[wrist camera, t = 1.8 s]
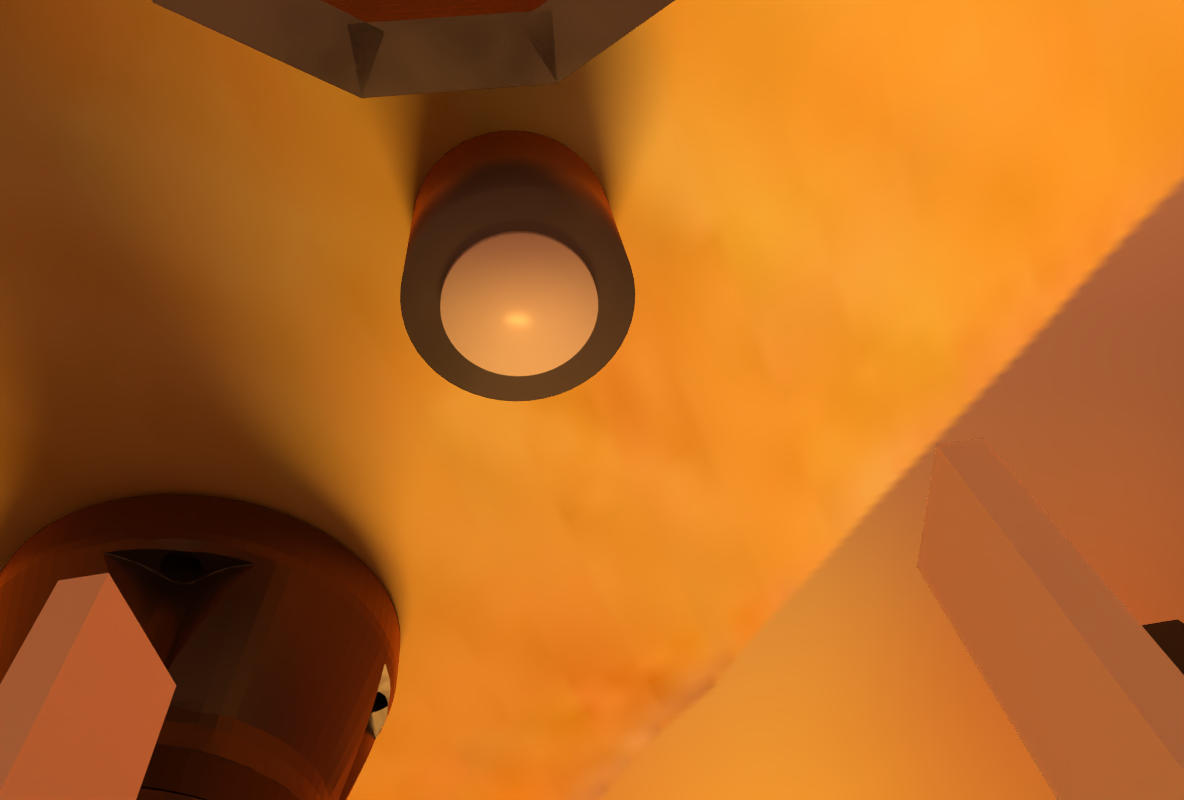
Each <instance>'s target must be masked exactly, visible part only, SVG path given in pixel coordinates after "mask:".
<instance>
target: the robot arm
mask: <svg viewBox="0 0 1184 800" xmlns="http://www.w3.org/2000/svg"><path fill="white" fill-rule="evenodd" d="M917 568H918V570H919V571H920V573H921V575H922V576H923V578H924V580H925V581H926V583H927V585H928V586H929V588H930V590H931V591H932V593H933V594H934V596H935V598H936V600H937V601H938V603H939V604H940V606H941V608H942V609H943V611H944V613H945V614H946V616H947V618H948V619H949V621H950V623H951V624H952V626H953V628H954V629H955V631H956V633H957V634H958V636H959V638H960V639H961V641H962V642H963V644H964V646H965V647H966V649H967V651H968V652H969V654H970V656H971V657H972V659H973V661H974V662H975V664H976V666H977V667H978V669H979V671H980V672H981V674H982V676H983V677H984V679H985V681H986V682H987V684H988V686H989V687H990V689H991V690H992V692H993V694H994V696H995V697H996V699H997V700H998V702H999V704H1000V705H1001V707H1002V709H1003V710H1004V712H1005V714H1006V715H1007V717H1008V719H1009V720H1010V722H1011V724H1012V725H1013V727H1014V729H1015V730H1016V732H1017V734H1018V735H1019V737H1020V738H1021V740H1022V742H1023V743H1024V745H1025V747H1026V748H1027V750H1028V752H1029V753H1030V755H1031V757H1032V758H1033V760H1034V761H1035V763H1036V765H1037V766H1038V768H1039V770H1040V772H1041V773H1042V775H1043V777H1044V778H1045V780H1046V782H1047V783H1048V785H1049V786H1050V788H1051V790H1052V791H1053V793H1054V795H1055V796H1056V798H1057V800H1184V623H1182V622H1180V621H1179V620H1172V621H1166V622H1160V623H1154V624H1148V625H1141V624H1140V623H1139V622H1138V621H1137V619H1136V618H1135V617H1134V616H1133V615H1132V613H1131V612H1130V611H1129V610H1128V609H1127V608H1126V606H1125V605H1124V604H1123V603H1122V602H1121V600H1120V599H1119V598H1118V597H1117V596H1116V595H1115V593H1114V592H1113V591H1112V590H1111V589H1110V587H1109V586H1108V585H1107V584H1106V583H1105V582H1104V580H1103V579H1102V578H1101V577H1100V576H1099V574H1098V573H1097V572H1096V571H1095V570H1094V569H1093V567H1092V566H1091V565H1090V564H1089V563H1088V562H1087V560H1086V559H1085V558H1084V557H1083V555H1082V554H1081V553H1080V552H1079V551H1078V550H1077V548H1076V547H1075V546H1074V545H1073V544H1072V542H1071V541H1070V540H1069V539H1068V538H1067V537H1066V535H1065V534H1064V533H1063V532H1062V531H1061V529H1060V528H1059V527H1058V526H1057V525H1056V524H1055V522H1054V521H1053V520H1052V519H1051V518H1050V516H1049V515H1048V514H1047V513H1046V512H1045V511H1044V509H1043V508H1042V507H1041V506H1040V505H1039V503H1038V502H1037V501H1036V500H1035V499H1034V497H1033V496H1032V495H1031V494H1030V493H1029V492H1028V490H1027V489H1026V488H1025V487H1024V486H1023V484H1022V483H1021V482H1020V481H1019V480H1018V478H1017V477H1016V476H1015V475H1014V474H1013V473H1012V471H1011V470H1010V469H1009V468H1008V467H1007V466H1006V464H1005V463H1004V462H1003V461H1002V460H1001V458H1000V457H999V456H998V455H997V454H996V453H995V451H994V450H993V449H992V448H991V447H990V446H989V444H988V443H987V442H986V441H985V440H984V438H976V439H970V440H964V441H957V442H951V443H944V444H938V445H936V450H935V457H934V463H933V469H932V475H931V482H930V488H929V495H928V500H927V506H926V513H925V519H924V525H923V531H922V538H921V544H920V550H919V556H918V562H917ZM399 652H400V629H399V624H398V619H397V615H396V612H395V609H394V607H393V604H392V602H391V600H390V598H389V596H388V594H387V593H386V591H385V589H384V588H383V586H382V585H381V583H380V582H379V580H378V579H377V578H376V577H375V575H374V574H373V573H372V572H371V571H370V570H369V569H368V567H367V566H366V565H365V564H364V563H363V562H362V561H361V560H359V559H358V558H357V557H356V556H355V555H354V554H353V553H351V552H350V551H349V550H348V549H346V548H345V547H344V546H342V545H341V544H339V543H338V542H337V541H335V540H334V539H332V538H331V537H329V536H327V535H325V534H324V533H322V532H320V531H319V530H317V529H315V528H313V527H311V526H309V525H307V524H305V523H303V522H300V521H298V520H296V519H294V518H291V517H289V516H286V515H283V514H281V513H278V512H275V511H272V510H269V509H266V508H262V507H259V506H255V505H251V504H247V503H243V502H238V501H233V500H228V499H221V498H214V497H206V496H194V495H153V496H140V497H133V498H126V499H120V500H115V501H110V502H106V503H102V504H98V505H94V506H91V507H88V508H85V509H82V510H79V511H77V512H75V513H72V514H70V515H67V516H65V517H63V518H61V519H59V520H57V521H55V522H53V523H51V524H50V525H48V526H47V527H45V528H43V529H42V530H40V531H39V532H38V533H36V534H35V535H33V536H32V537H31V538H30V539H29V540H27V541H26V542H25V543H24V544H23V545H22V546H21V547H20V548H19V549H18V550H17V551H16V552H15V553H14V555H13V556H12V557H11V559H10V560H9V561H8V563H7V564H6V566H5V567H4V569H3V570H2V572H1V573H0V800H347V798H348V796H349V794H350V792H351V790H352V788H353V786H354V784H355V782H356V780H357V778H358V776H359V774H360V772H361V770H362V768H363V766H364V764H365V762H366V759H367V757H368V755H369V753H370V751H371V749H372V746H373V744H374V741H375V739H376V737H377V736H378V734H379V733H380V731H381V729H382V727H383V725H384V723H385V720H386V718H387V716H388V714H389V711H390V709H391V705H392V702H393V698H394V694H395V689H396V682H397V672H398V662H399Z"/></svg>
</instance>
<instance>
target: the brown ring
mask: <svg viewBox="0 0 1184 800" xmlns="http://www.w3.org/2000/svg"><path fill="white" fill-rule="evenodd" d="M152 1H153V2H154V3H156V4H158V5H160V6H162V7H164V8H166V9H169V10H171V11H173V12H175V13H177V14H180V15H182V16H184V17H186V18H188V19H190V20H193V21H195V22H197V23H199V24H201V25H203V26H206V27H208V28H210V29H212V30H214V31H217V32H219V33H221V34H223V35H225V36H227V37H230V38H232V39H234V40H236V41H238V42H240V43H243V44H245V45H247V46H249V47H251V48H254V49H256V50H258V51H260V52H262V53H264V54H267V55H269V56H271V57H273V58H275V59H277V60H280V61H282V62H284V63H286V64H288V65H291V66H293V67H295V68H297V69H299V70H301V71H304V72H306V73H308V74H310V75H312V76H315V77H317V78H319V79H321V80H323V81H325V82H328V83H330V84H332V85H334V86H336V87H338V88H341V89H343V90H345V91H347V92H349V93H352V94H354V95H356V96H358V97H360V98H369V97H382V96H396V95H409V94H422V93H435V92H448V91H462V90H475V89H488V88H501V87H515V86H528V85H541V84H554V83H558V82H560V81H561V80H563V79H564V78H565V77H567V76H568V75H570V74H571V73H572V72H574V71H575V70H577V69H578V68H580V67H581V66H582V65H584V64H585V63H587V62H588V61H589V60H591V59H592V58H594V57H595V56H597V55H598V54H599V53H601V52H602V51H604V50H605V49H606V48H608V47H609V46H611V45H612V44H614V43H615V42H616V41H618V40H619V39H621V38H622V37H624V36H625V35H626V34H628V33H629V32H631V31H632V30H633V29H635V28H636V27H638V26H639V25H641V24H642V23H643V22H645V21H646V20H648V19H649V18H650V17H652V16H653V15H655V14H656V13H658V12H659V11H660V10H662V9H663V8H665V7H666V6H667V5H669V4H670V3H672V2H673V1H675V0H152Z"/></svg>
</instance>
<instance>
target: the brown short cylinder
mask: <svg viewBox="0 0 1184 800" xmlns="http://www.w3.org/2000/svg"><path fill="white" fill-rule="evenodd" d="M400 303H401V311H402V317H403V321H404V324H405V328H406V330H407V333H408V335H409V337H410V340H411V342H412V343H413V345H414V347H415V348H416V350H417V352H418V353H419V354H420V356H421V357H422V358H423V359H424V360H425V362H426V363H427V364H428V365H429V366H430V367H431V368H432V369H433V370H434V371H435V372H436V373H438V374H439V375H440V376H442V377H443V378H444V379H446V380H447V381H448V382H450V383H452V384H454V385H455V386H457V387H459V388H461V389H463V390H466V391H468V392H470V393H473V394H476V395H479V396H483V397H486V398H491V399H497V400H504V401H530V400H537V399H543V398H547V397H551V396H555V395H558V394H561V393H563V392H566V391H568V390H571V389H573V388H574V387H576V386H578V385H580V384H582V383H584V382H585V381H587V380H588V379H589V378H591V377H592V376H594V375H595V374H596V373H597V372H598V371H600V370H601V369H602V368H603V367H604V366H605V365H606V364H607V363H608V362H609V361H610V359H611V358H612V357H613V356H614V355H615V353H616V352H617V350H618V349H619V347H620V346H621V344H622V342H623V340H624V338H625V336H626V334H627V332H628V330H629V327H630V324H631V321H632V316H633V311H634V305H635V287H634V278H633V274H632V270H631V266H630V263H629V260H628V257H627V255H626V252H625V249H624V246H623V243H622V240H621V238H620V235H619V232H618V229H617V226H616V224H615V221H614V218H613V215H612V212H611V209H610V207H609V204H608V201H607V198H606V196H605V193H604V191H603V188H602V186H601V184H600V182H599V180H598V179H597V177H596V175H595V174H594V172H593V171H592V170H591V168H590V167H589V166H588V165H587V164H586V163H585V162H584V161H583V160H582V159H581V158H580V157H579V156H578V155H577V154H576V153H575V152H573V151H572V150H571V149H569V148H568V147H566V146H564V145H563V144H561V143H559V142H557V141H555V140H553V139H550V138H548V137H545V136H543V135H539V134H535V133H531V132H523V131H498V132H491V133H487V134H483V135H480V136H476V137H474V138H472V139H469V140H467V141H465V142H463V143H461V144H459V145H458V146H456V147H455V148H453V149H451V150H450V151H449V152H448V153H447V154H445V155H444V156H443V157H442V158H441V159H440V160H439V161H438V162H437V163H436V164H435V165H434V166H433V167H432V169H431V170H430V172H429V173H428V175H427V176H426V178H425V179H424V181H423V183H422V185H421V187H420V190H419V193H418V196H417V199H416V202H415V207H414V213H413V219H412V225H411V230H410V236H409V242H408V248H407V254H406V259H405V265H404V271H403V277H402V282H401V295H400Z"/></svg>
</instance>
